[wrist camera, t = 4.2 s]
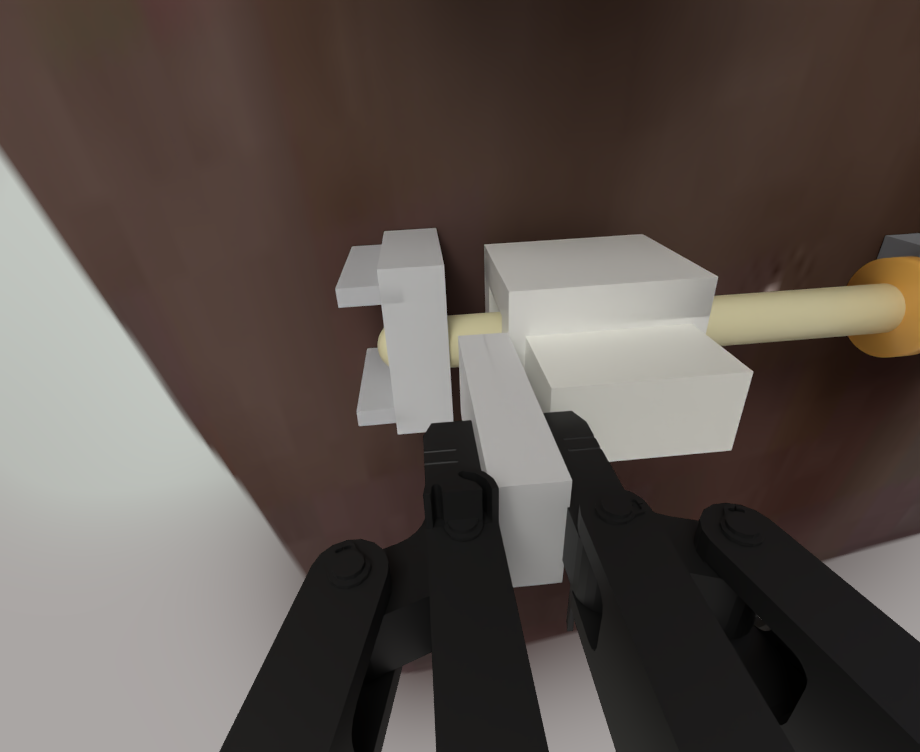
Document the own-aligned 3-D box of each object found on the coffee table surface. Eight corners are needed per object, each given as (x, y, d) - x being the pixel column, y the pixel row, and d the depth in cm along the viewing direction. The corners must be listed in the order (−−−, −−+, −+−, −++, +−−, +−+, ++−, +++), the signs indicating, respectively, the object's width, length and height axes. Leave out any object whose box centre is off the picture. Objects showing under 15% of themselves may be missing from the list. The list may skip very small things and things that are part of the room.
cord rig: (350, 233, 19) (328, 281, 14) (1001, 191, 20) (1196, 221, 15) (370, 370, 22) (359, 451, 17) (939, 325, 23) (1085, 386, 18)
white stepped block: (484, 244, 18) (532, 336, 11) (642, 233, 19) (789, 316, 11) (486, 368, 21) (526, 508, 14) (626, 357, 21) (737, 488, 14)
